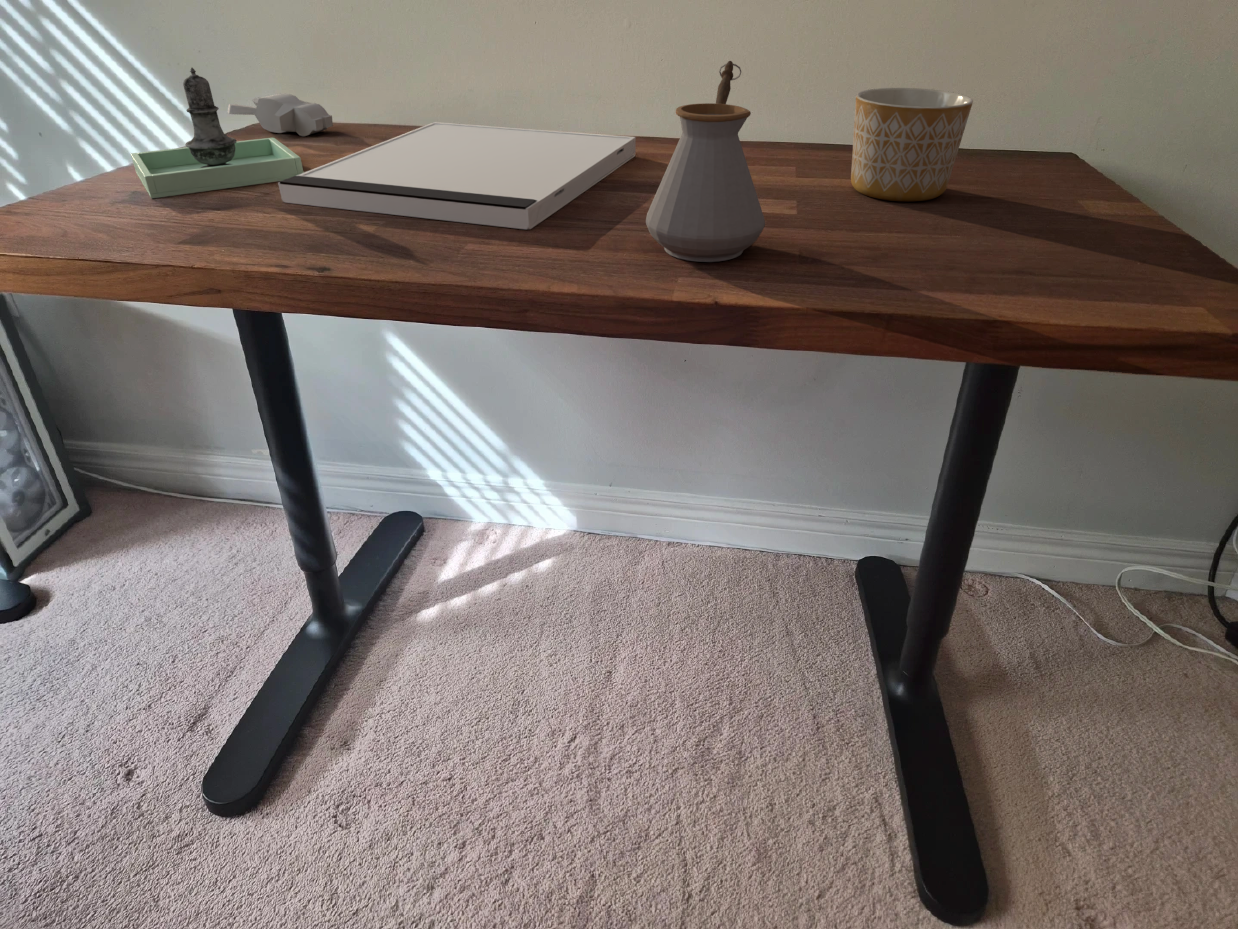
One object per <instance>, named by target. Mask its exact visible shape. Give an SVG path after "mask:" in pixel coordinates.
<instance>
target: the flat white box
mask: <svg viewBox="0 0 1238 929" xmlns="http://www.w3.org/2000/svg"><path fill="white" fill-rule="evenodd" d="M636 139H637V137H636V136H629V135H628V136H627V135H617V134H616V135H615V134H603V133H601V134H600V133H591V132H590V133H588V132H577V131H576V132H575V131H564V130H563V131H562V130H547V129H535V128H520V127H509V126H495V125H494V126H493V125H482V124H481V125H480V124H468V123H454V122H440V121H433V122H431V123H428V124H425V125H423V126H421V127H417V128H416V129H415V128H414V129H412V130H411V131H407V132H405V133H402V134H400V135H397V136H395V137H392V138H390V139H386V140H384V141H381V142H378V143H377V144H374V145H372V146H369V147H366V148H363V149H361V150H359V151H356V152H353V153H350V154H348V155H346V156H343V157H341V158H337V159H335V160H333V161H329V162H327V163H325V164H323V165H319V166H317V167H315V168H312V169H310V170H307V171H303V172H304V173H302V174H299V175H297V176H293V177H291V178H288V179H285V180H282V181H278V182H277V185H278V189H279V194H280V199H281V201H282V202H283V203H286V204H295V205H304V206H314V207H321V208H322V207H323V208H329V209H340V210H350V211H357V212H367V213H374V214H375V213H376V214H385V215H395V216H402V217H403V216H404V217H412V218H421V219H430V220H439V221H447V222H456V223H463V224H464V223H465V224H466V223H467V224H473V225H481V226H482V225H483V226H491V227H500V228H508V229H509V228H511V229H519V230H531V229H533V228H534V227H536V226H537V225H539V224H540V223H542V222H543V221H544V220H546V219H547V218H549V217H550V216H552V215H553V214H555V213H556V212H557V211H559V210H561V209H562V208H563V207H565V206H566V205H568V204H569V203H571V202H572V201H573V200H575V199H576V198H578V197H579V196H580V195H582V194H583V193H584V192H587V191H588V190H589V189H590V188H592V187H593V186H595V185H596V184H598V183H599V182H600V181H602V180H604V179H605V178H606V177H608V176H609V175H611V174H612V173H613V172H615V171H616V170H618V169H619V168H620V167H622V166H623V165H624V164H627V162H629V161H630V160H632V159H633V158H634V157H636V154H637V153H636V152H637V150H636V146H637V145H636V144H637V143H636Z"/></svg>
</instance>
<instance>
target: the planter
mask: <svg viewBox="0 0 1238 929" xmlns="http://www.w3.org/2000/svg"><path fill="white" fill-rule="evenodd" d="M973 104H974V100H973V98H971V97H970V96H968V95H966V94H962V93H957V92H954V91H947V90H940V89H931V88H921V87H918V88H917V87H881V88H869V89H866V90H861V91H859V92H857V93H856V94H855V108H854V121H853V138H852V158H851V170H850V171H851V173H850V182H851V185H852V187H853V189H854V190H856V191H857V193H859V194H862V195H863V196H866V197H870V198H872V199H873V198H874V199H877V200H883V201H891V202H905V203H910V202H911V203H914V202H925V201H930V200H933V199H936V198H938V197H940V196H942V195H943V194H944V192H945V191H946V190H947V188H948V186H949V185H948V184H949V182H950V178H951V175H952V173H953V168H954V166H955V162H956V159H957V156H958V153H959V149H960V146H961V144H962V139H963V137H964V134H965V130H966V126H967V123H968V120H969V117H970V113H971V109H972V107H973Z"/></svg>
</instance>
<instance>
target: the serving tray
mask: <svg viewBox="0 0 1238 929" xmlns="http://www.w3.org/2000/svg"><path fill="white" fill-rule="evenodd" d="M235 148H236V149H235V155H234V157H233V158H232V160H231V161H229V162H227V164H231V165H223V166H215V167H207V168H201V167H203V166H206V165H207V164H202V163H200V162H198V161H197V160H196V159H195V158H194V157H193V156H192V154H191V153H190V149H189V148H188V147H186V146H183V147H176V148H167V149H158V150H149V151H140V152H132V153H131V152H130V156H131V161H132V164H133V166H134V170H135V173H136V175H137V177H138V178H139V180H140V183H141V184H142V185H143V187H144V189H145V190H146V192H147V194H148V195H149V197H150V199H159V198H167V197H174V196H182V195H188V194H195V193H202V192H211V191H217V190H218V191H219V190H226V189H233V188H239V187H247V186H254V185H262V184H271V183H278V182H280V181H282V180H285V179H288V178H291V177H293V176H297V175H299V174H302V173H304V172H305V171H304V168H303V163H302V158H301V157H300V156H299V155H298V154H296V153H295V152H294V151H292V150H291V149H290V148H289V147H287V146H286V145H285V144H283V143H282V142H280V141H279V140H278V139H277V138H275V137H265V138H256V139H248V140H247V139H246V140H237V141H236V143H235Z"/></svg>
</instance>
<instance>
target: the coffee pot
mask: <svg viewBox="0 0 1238 929" xmlns="http://www.w3.org/2000/svg"><path fill="white" fill-rule="evenodd" d="M734 67H736V68H738V70H739V73H738V74H739V75H738V76H736V77H734V72H733V71H734ZM722 68H724V70H723V71H722ZM718 72H719V75H720V77H721V80H720V82H719V84H718V85H717V92H716V98H715V103H710V102H709V103H708V102H706V103H705V102H703V103H690V104H684V105H679V106H678V107H676V108H675V114H676V116H678V117H679V120H680V126H681V132H682V133H681V134H680V138H679V140H678V142H677V144H676V147H675V149H674V151H673V153H672V156H671V158H670V160H669V163H668V165H667V167H666V169H665V172H664V174H663V176H662V178H661V181H660V183H659V186H658V188H657V190H656V193H655V195H654V197H653V199H652V201H651V204H650V206H649V208H648V211H647V213H646V218H645V225H646V227H647V230H648V232H649V234H650V235H651V237H652V238H653V239H654V241H656V243H658V245H660V246H661V247H662V248H663V250H664V251H665V253H666V254H668V255H669V256H672V257H674V258H676V259H680V260H685V261H689V262H697V263H698V262H701V263H714V262H716V263H717V262H722V261H723V262H724V261H728V260H733V259H735V258H737V257H739V256H741V255H742V253H743V252H744V250H746V249H748V248H749V247H752V245H753V244H754V243H755V242H756V241H757V240H758V238H759V237H760V236H761V234H762V232H763V230H764V228H765V226H766V221H765V216H764V212H763V209H762V207H761V203H760V200H759V197H758V194H757V190H756V186H755V184H754V182H753V178H752V175H751V172H750V169H749V165H748V162H747V159H746V155H745V152H744V149H743V146H742V142H741V141H740V137H739V132H740V131H741V129H742V127H743V126H744V124H745V123H746V121H747V120H748V118H749V117H750V116H751V115H752V114H751V113H752V112H751V111H750V110H749V109H747V108H745V107H742V106H739V105H734V104H727V101H728V98H729V95H730V92H731V89H732V88H731V81H735V80H738V79H739V78H740V77H741V75H742V69H741V66H739V65H738V64H736V63H733V61H732V60H728V61H727V62H726V63H725V64H723V65H721V66H720V69H719V71H718Z"/></svg>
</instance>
